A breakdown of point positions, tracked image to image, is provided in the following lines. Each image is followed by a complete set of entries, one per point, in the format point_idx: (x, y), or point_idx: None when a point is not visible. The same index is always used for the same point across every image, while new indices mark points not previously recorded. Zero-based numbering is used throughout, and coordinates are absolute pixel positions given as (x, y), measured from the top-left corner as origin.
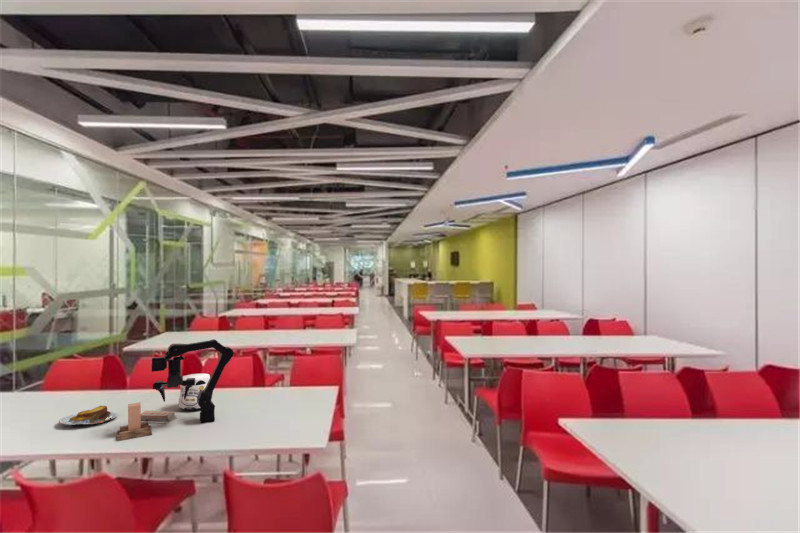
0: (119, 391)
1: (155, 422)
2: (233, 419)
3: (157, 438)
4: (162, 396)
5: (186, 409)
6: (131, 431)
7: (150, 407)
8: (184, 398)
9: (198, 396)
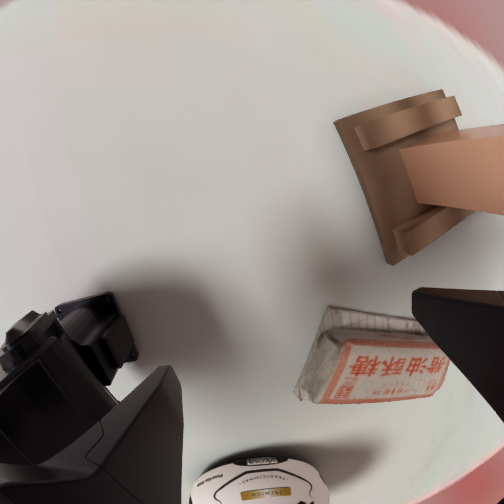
0: (449, 483)
1: (380, 316)
2: (3, 322)
3: (276, 61)
4: (481, 293)
5: (277, 457)
6: (427, 104)
7: (407, 455)
8: (164, 371)
9: (76, 433)
